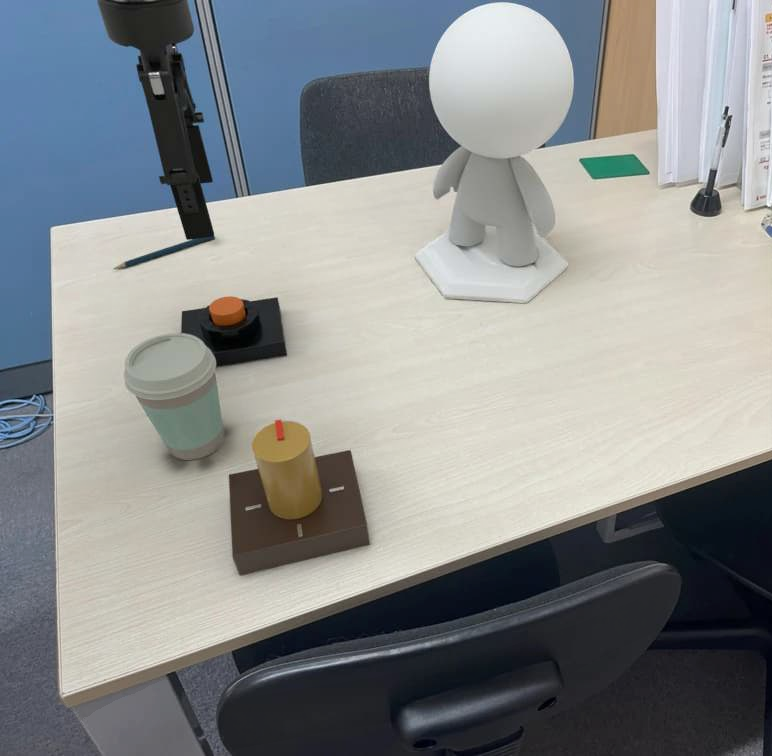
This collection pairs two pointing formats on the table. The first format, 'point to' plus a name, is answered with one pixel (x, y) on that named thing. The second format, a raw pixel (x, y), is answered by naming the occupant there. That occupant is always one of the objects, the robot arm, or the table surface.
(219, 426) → the coffee cup
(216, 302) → the button
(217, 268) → the table surface
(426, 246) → the big headed doll
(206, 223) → the robot arm
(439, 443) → the table surface
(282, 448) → the lock knob
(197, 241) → the pencil
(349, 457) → the plate
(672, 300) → the table surface
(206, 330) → the button box
